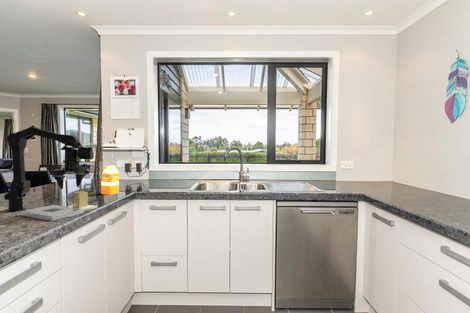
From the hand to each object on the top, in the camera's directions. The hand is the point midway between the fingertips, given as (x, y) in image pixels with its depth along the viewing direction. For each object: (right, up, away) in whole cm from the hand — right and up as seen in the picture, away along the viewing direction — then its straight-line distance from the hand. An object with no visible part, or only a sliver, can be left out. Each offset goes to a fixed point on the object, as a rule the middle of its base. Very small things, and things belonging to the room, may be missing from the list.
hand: (70, 187), depth 141 cm
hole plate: (-2, -12, -11) cm, 16 cm away
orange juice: (-2, -10, +51) cm, 52 cm away
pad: (+4, -11, +2) cm, 12 cm away
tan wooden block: (+4, -10, +2) cm, 11 cm away
